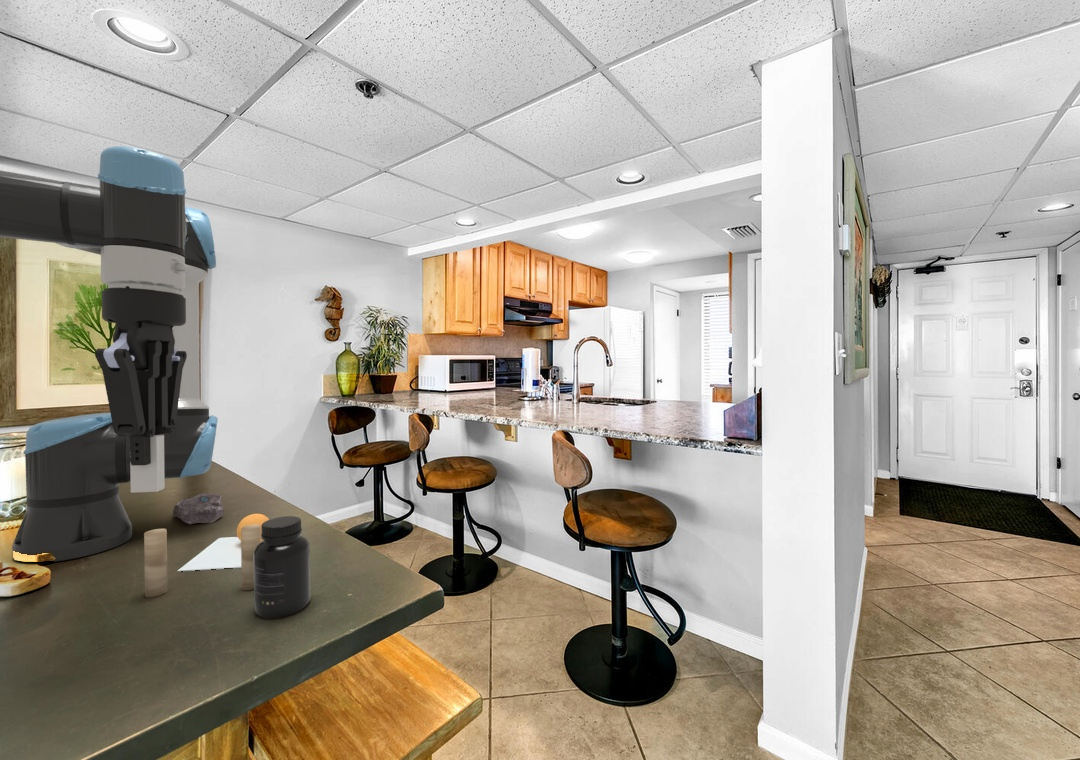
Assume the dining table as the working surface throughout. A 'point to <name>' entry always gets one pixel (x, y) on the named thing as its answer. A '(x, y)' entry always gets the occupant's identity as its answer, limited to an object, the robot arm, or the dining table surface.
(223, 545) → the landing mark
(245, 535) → the post
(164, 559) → the post
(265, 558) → the supplement bottle
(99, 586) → the dining table surface
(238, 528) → the ball
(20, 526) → the robot arm
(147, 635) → the dining table surface
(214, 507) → the rock
